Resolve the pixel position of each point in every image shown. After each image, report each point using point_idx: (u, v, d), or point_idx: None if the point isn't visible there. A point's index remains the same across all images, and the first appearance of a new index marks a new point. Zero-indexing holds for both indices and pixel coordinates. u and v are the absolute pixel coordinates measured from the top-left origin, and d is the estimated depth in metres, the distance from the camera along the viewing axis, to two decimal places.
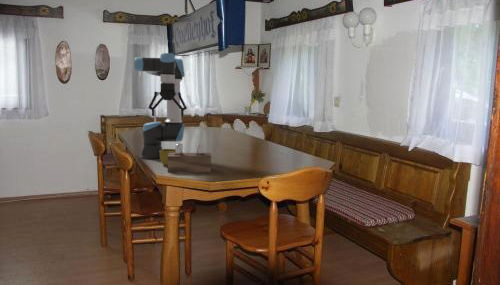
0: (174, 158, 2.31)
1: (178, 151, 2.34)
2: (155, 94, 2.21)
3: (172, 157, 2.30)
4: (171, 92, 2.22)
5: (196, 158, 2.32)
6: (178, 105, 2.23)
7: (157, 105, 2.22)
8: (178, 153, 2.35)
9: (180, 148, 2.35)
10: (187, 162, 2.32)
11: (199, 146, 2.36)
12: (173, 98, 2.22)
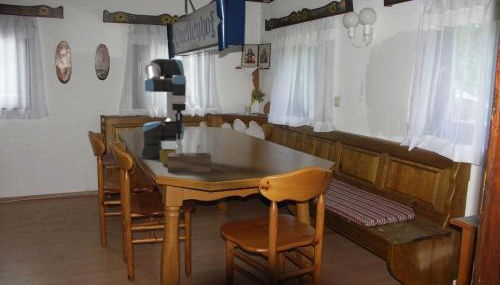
0: (174, 158, 2.31)
1: (178, 152, 2.35)
2: None
3: (172, 157, 2.30)
4: (176, 111, 2.30)
5: (196, 158, 2.32)
6: None
7: None
8: (178, 154, 2.35)
9: (180, 149, 2.35)
10: (187, 162, 2.32)
11: (199, 146, 2.36)
12: None
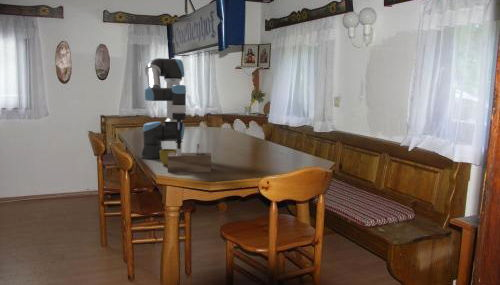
0: (174, 158, 2.31)
1: None
2: None
3: (172, 157, 2.30)
4: (176, 121, 2.31)
5: (196, 158, 2.32)
6: None
7: None
8: None
9: None
10: (187, 162, 2.32)
11: (199, 146, 2.36)
12: None
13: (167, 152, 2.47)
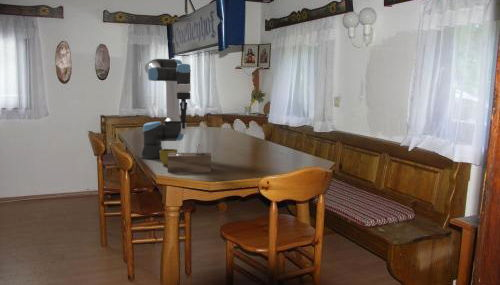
0: (174, 158, 2.31)
1: None
2: None
3: (172, 157, 2.30)
4: (181, 100, 2.30)
5: (196, 158, 2.32)
6: None
7: None
8: None
9: None
10: (187, 162, 2.32)
11: (199, 146, 2.36)
12: (180, 108, 2.31)
13: (167, 152, 2.47)
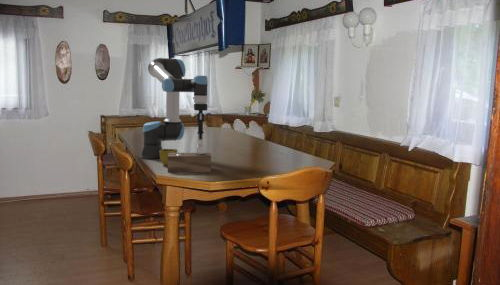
0: (174, 158, 2.31)
1: None
2: (198, 117, 2.40)
3: (172, 157, 2.30)
4: None
5: (196, 158, 2.32)
6: None
7: None
8: None
9: None
10: (187, 162, 2.32)
11: (199, 147, 2.36)
12: None
13: (167, 152, 2.47)
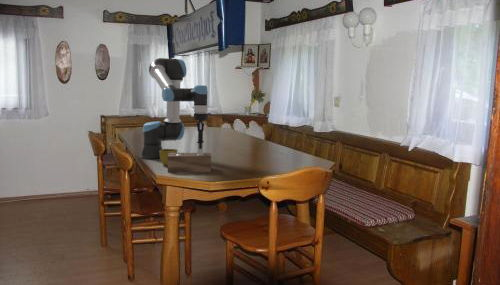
0: (174, 158, 2.31)
1: None
2: None
3: (172, 157, 2.30)
4: None
5: (196, 158, 2.32)
6: None
7: None
8: None
9: None
10: (187, 162, 2.32)
11: None
12: (197, 129, 2.34)
13: (167, 152, 2.47)
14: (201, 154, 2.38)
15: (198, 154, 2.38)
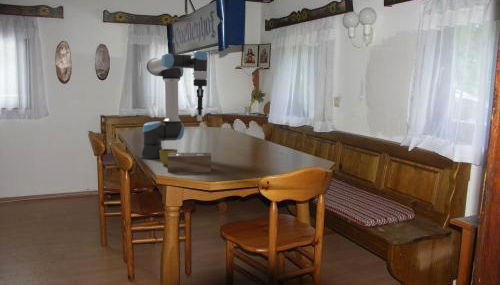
0: (174, 158, 2.31)
1: None
2: None
3: (172, 157, 2.30)
4: (198, 87, 2.33)
5: (196, 158, 2.32)
6: None
7: None
8: None
9: None
10: (187, 162, 2.32)
11: None
12: None
13: (167, 152, 2.47)
14: (201, 154, 2.38)
15: (198, 154, 2.38)
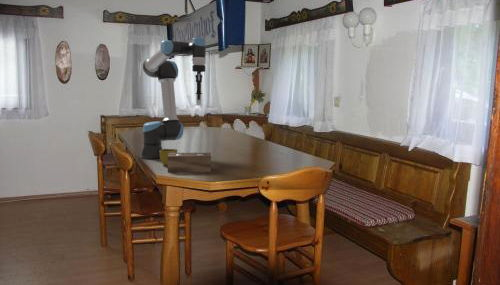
0: (174, 158, 2.31)
1: None
2: None
3: (172, 157, 2.30)
4: (197, 72, 2.41)
5: (196, 158, 2.32)
6: None
7: None
8: None
9: None
10: (187, 162, 2.32)
11: None
12: None
13: (167, 152, 2.47)
14: (201, 154, 2.38)
15: (198, 154, 2.38)
